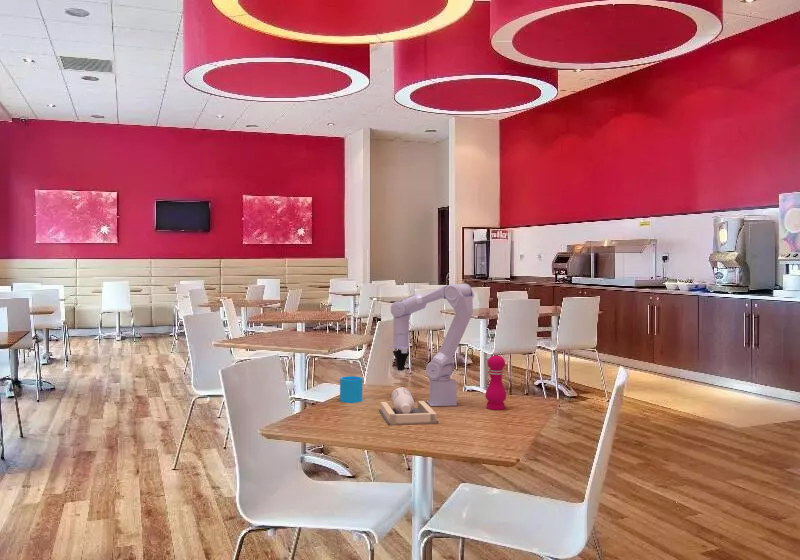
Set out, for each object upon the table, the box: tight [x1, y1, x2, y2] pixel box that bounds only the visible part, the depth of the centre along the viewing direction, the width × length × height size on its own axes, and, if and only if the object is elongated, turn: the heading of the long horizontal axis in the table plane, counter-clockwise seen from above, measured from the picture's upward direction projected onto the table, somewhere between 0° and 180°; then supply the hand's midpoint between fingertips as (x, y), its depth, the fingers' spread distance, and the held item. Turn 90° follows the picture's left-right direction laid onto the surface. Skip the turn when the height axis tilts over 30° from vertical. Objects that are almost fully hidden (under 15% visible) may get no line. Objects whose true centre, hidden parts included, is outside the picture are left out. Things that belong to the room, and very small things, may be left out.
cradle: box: [378, 400, 439, 426], centre depth 224 cm, size 16×20×3 cm
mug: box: [339, 375, 363, 404], centre depth 250 cm, size 12×8×8 cm
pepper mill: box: [484, 350, 507, 411], centre depth 238 cm, size 7×7×20 cm
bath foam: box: [391, 386, 415, 414], centre depth 226 cm, size 7×7×20 cm
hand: (400, 370), depth 253 cm, fingers closed
